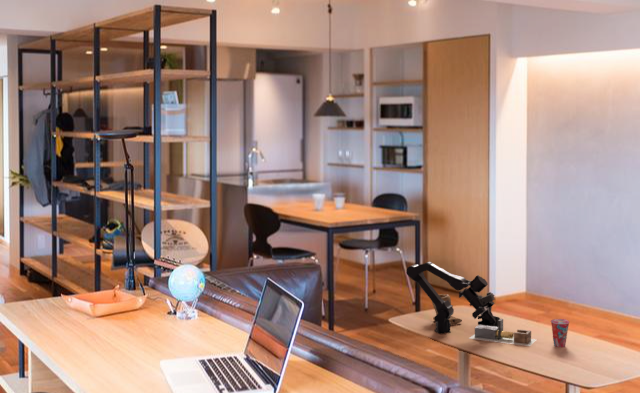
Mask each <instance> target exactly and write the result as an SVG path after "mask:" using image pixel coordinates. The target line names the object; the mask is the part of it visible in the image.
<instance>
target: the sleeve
mask: <svg viewBox="0 0 640 393" xmlns="http://www.w3.org/2000/svg"><path fill="white" fill-rule="evenodd" d="M497 330H498V327H494V326H485V325H478V324H477V325H476V326H475V327H474V334H475V337H477V338H485V339H492V340H496V331H497Z"/></svg>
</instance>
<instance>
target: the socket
mask: <svg viewBox="0 0 640 393" xmlns="http://www.w3.org/2000/svg"><path fill="white" fill-rule="evenodd" d="M513 333H514V342H515V343H523V344H528V343H529V342H530V341H531V339H532V330H526V329H517V330H516V331H513Z"/></svg>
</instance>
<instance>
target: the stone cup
mask: <svg viewBox="0 0 640 393" xmlns="http://www.w3.org/2000/svg"><path fill="white" fill-rule="evenodd" d="M438 295H439V296H440V297H441V298H442V300H444V301H447V300H448V301H449V302H450V304H451V305H452V299H451V296H450V295H449V294H447V293H446V294H444V293H441V294H439V293H438ZM431 304H432V306H433V309H434V312H435V316H436V315H437V314H438V312H437V310H436V307H435V304H434V303H433V302H432V301H431ZM433 320H434V321H435V319H434V317H433ZM448 320H449V322H450V326H452V325H453V326H454V325H455V326H456V325H458V324H460V323H462V322H463V319H462V318H459V317H455V316H453V315H451V316H450V319H448Z"/></svg>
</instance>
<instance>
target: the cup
mask: <svg viewBox="0 0 640 393" xmlns="http://www.w3.org/2000/svg"><path fill="white" fill-rule="evenodd" d="M550 322H551V331H552V340H553V346H554V347H557V348H565V347H566V344H567V338H568V331H569V324H570V321H569V320H568V319H566V318H554V319H551V320H550Z"/></svg>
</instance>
